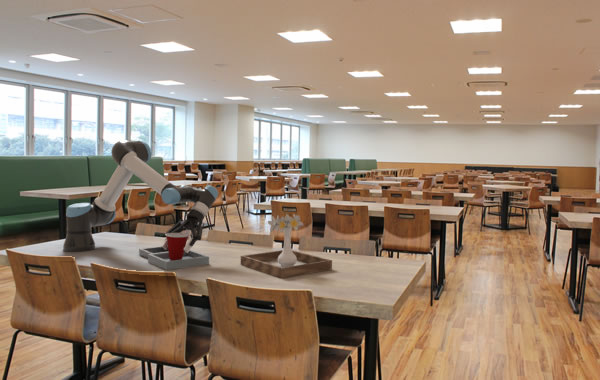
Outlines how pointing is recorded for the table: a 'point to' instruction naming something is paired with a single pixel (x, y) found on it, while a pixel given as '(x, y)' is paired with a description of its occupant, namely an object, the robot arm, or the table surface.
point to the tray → (187, 260)
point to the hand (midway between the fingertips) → (174, 249)
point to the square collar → (151, 251)
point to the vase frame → (313, 266)
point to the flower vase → (286, 237)
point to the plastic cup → (176, 245)
